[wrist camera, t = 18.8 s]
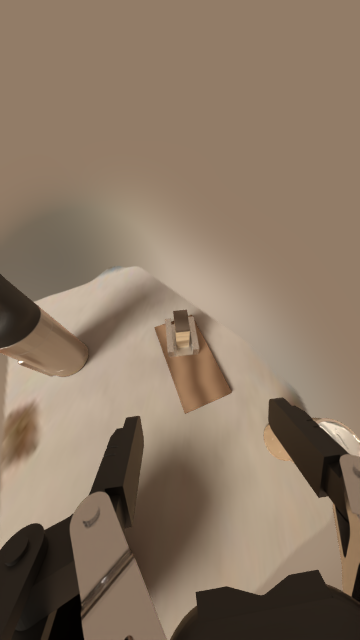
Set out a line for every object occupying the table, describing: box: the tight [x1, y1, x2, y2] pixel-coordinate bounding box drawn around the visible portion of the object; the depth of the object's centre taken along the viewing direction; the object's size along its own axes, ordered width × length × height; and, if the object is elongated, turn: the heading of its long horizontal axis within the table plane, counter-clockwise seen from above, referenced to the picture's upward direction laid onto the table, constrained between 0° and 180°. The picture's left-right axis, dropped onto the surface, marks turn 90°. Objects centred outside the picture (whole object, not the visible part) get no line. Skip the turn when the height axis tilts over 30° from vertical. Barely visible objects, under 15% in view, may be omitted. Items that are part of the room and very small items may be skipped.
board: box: [155, 315, 232, 414], centre depth 42 cm, size 11×22×1 cm, turn 21°
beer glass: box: [264, 418, 360, 464], centre depth 27 cm, size 7×7×15 cm
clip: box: [165, 317, 199, 357], centre depth 43 cm, size 9×7×3 cm
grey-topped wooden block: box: [173, 310, 190, 348], centre depth 40 cm, size 5×3×9 cm, turn 6°
